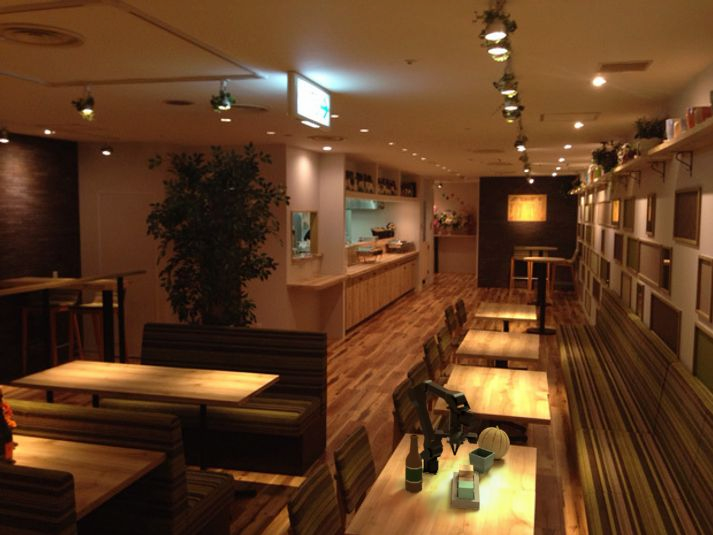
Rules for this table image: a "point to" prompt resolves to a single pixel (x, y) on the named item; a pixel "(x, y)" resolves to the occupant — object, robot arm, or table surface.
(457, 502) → the grey rectangular tray
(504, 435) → the cantaloupe
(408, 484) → the beer bottle
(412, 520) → the table surface
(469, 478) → the tan block
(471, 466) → the light brown block
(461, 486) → the green block
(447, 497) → the table surface
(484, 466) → the flower pot
